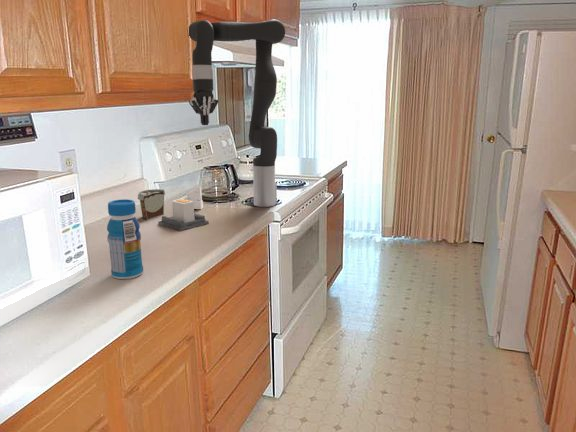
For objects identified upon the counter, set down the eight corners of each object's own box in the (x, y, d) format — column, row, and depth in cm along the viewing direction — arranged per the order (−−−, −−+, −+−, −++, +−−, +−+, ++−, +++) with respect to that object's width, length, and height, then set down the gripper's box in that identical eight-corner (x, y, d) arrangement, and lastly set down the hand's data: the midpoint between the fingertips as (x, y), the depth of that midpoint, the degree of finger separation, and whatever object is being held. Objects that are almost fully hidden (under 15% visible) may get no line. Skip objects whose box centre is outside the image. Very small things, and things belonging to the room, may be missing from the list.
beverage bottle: (106, 280, 126) (99, 205, 121) (116, 268, 135) (110, 198, 130) (139, 280, 127) (133, 205, 122) (147, 268, 135) (141, 198, 130)
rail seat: (187, 217, 189) (186, 210, 188) (208, 223, 180) (208, 215, 179) (158, 224, 179) (157, 216, 178) (179, 230, 171) (179, 222, 170)
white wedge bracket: (211, 204, 200) (199, 186, 198) (191, 215, 202) (180, 197, 200) (213, 202, 203) (202, 184, 202) (193, 213, 205) (182, 195, 204)
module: (182, 217, 183) (181, 198, 181) (194, 220, 179) (193, 201, 177) (173, 219, 180) (171, 200, 178) (184, 222, 176) (183, 203, 174)
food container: (154, 212, 197) (153, 187, 194) (166, 213, 194) (164, 189, 192) (132, 219, 186) (130, 193, 184) (144, 221, 184) (142, 195, 181)
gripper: (210, 78, 188) (211, 123, 193) (182, 77, 179) (184, 125, 183) (223, 78, 184) (224, 124, 188) (195, 77, 174) (197, 126, 178)
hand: (204, 125), depth 186 cm, fingers closed
